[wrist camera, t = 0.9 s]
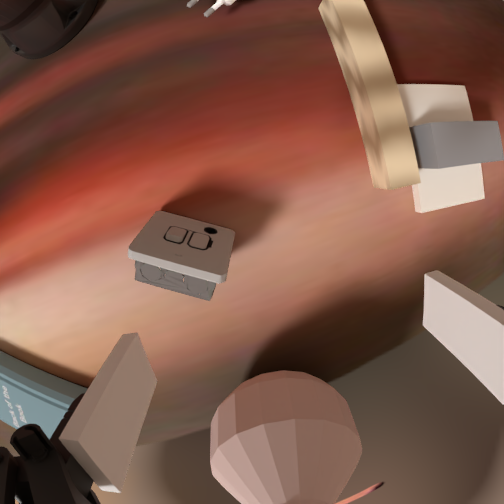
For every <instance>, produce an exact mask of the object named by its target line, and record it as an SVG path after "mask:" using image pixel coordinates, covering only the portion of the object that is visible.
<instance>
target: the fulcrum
mask: <svg viewBox="0 0 504 504" xmlns="http://www.w3.org/2000/svg"><path fill="white" fill-rule="evenodd" d="M397 87H398V90H399V93H400V96H401V100H402V103H403V107H404V110H405V114H406V117H407V121H408V125H409V129H410V133H411V137H412V141H413V146H414V150H415V155H416V160H417V165H418V170H419V175H420V181H421V183H419V184H414V185H412V188H413V196H414V204H415V211H416V212H420V213H424V212H428V211H432V210H437V209H441V208H445V207H450V206H454V205H459V204H463V203H467V202H472V201H476V200H481V199H485V198H484V187H483V177H482V169H481V163H485V162H493V161H501V160H504V155H503V149H502V142H501V136H500V131H499V126H498V121H473V117H472V112H471V108H470V104H469V100H468V96H467V92H466V89H465V86H461V85H440V84H397Z"/></svg>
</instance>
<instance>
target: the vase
mask: <svg viewBox="0 0 504 504" xmlns="http://www.w3.org/2000/svg"><path fill="white" fill-rule="evenodd" d="M361 453H362V446H361V442H360V437H359V434H358V432H357V429H356V426H355V423H354V420H353V418H352V415H351V412H350V409H349V406H348V404H347V401H346V400H345V399H344V398H343V397H342V396H341V395H340V394H339V393H338V392H337V391H336V390H335V389H334V388H333V387H332V386H330V385H329V384H327V383H326V382H324V381H323V380H321V379H319V378H317V377H314V376H312V375H310V374H307V373H305V372H297V371H286V370H282V371H276V372H270V373H264V374H260V375H258V376H256V377H254V378H252V379H249V380H247V381H245V382H243V383H242V384H240V385H239V386H238V387H237V388H236V389H235V390H234V391H233V392H232V393H230V394H229V395H228V397H227V398H226V399H225V400H224V401H223V402H222V403H221V404H220V405H219V406H218V408H217V411H216V413H215V415H214V417H213V420H212V422H211V450H210V463H211V469H212V474H213V476H214V477H215V478H216V479H217V481H219V483H220V484H221V485H222V486H223V487H224V488H225V489H226V490H227V491H228V492H230V493H231V495H233V496H234V497H235V498H236V499H237V500H238V501H239V502H240V503H241V504H334V503H335V501H336V500H337V498H338V496H339V495H340V494H341V492H342V490H343V489H344V487H345V485H346V483H347V482H348V480H349V478H350V476H351V475H352V473H353V471H354V469H355V467H356V466H357V464H358V461H359V459H360V456H361Z"/></svg>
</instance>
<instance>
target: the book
mask: <svg viewBox="0 0 504 504" xmlns="http://www.w3.org/2000/svg"><path fill="white" fill-rule="evenodd" d="M87 390H88V389H87V388H85V387H82V386H79V385H76V384H74V383H71V382H69V381H66V380H63V379H61V378H58V377H56V376H54V375H51V374H49V373H46V372H44V371H42V370H39V369H37V368H35V367H33V366H31V365H28V364H26V363H24V362H22V361H20V360H18V359H16V358H14V357H12V356H10V355H8V354H6V353H4V352H2V351H0V420H2V421H4V422H5V423H7V424H9V425H10V426H12V427H14V428H16V429H18V428H20V427H21V426H23V425H26V424H37V425H39V426H40V427H41V429H42V430H43V432H44V433H45V434H46V436H47V437H48V438H49V440H50V438H51V436H52V434H53V433H54V431H55V429H56V428H57V426H58V424H59V423H60V421H61V419H63V416H64V415H65V413H66V412H68V411H67V410H68V408H69V406H70V405H71V403H72V402H73V401H74V400H75V399H76V398H77V397H78V396H79V395H80V394H82V393H86V391H87Z"/></svg>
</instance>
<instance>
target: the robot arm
mask: <svg viewBox="0 0 504 504" xmlns="http://www.w3.org/2000/svg"><path fill="white" fill-rule="evenodd" d="M97 1H98V0H0V34H1V36H2V37H3V39H4V40H5V41H6V43H7V44H8V46H9V47H10V48H11V50H12V51H13V52H14V53H16V54H18V55H20V56H22V57H24V58H27V59H38V58H42V57H45V56H47V55H49V54H51V53H53V52H55V51H57V50H58V49H60V48H61V47H63V46H64V45H65V44H66V43H68V42H69V41H70V40H71V39H72V38H73V37H74V36H75V35H76V34H77V33H78V32H79V31H80V30H81V29H82V28H83V26H84V25H85V24H86V22H87V21H88V19H89V18H90V16H91V15H92V13H93V11H94V9H95V7H96V4H97ZM423 326H424V327H425V328H426V329H427V330H428V331H429V332H430V333H431V334H433V335H434V336H435V337H436V338H437V339H438V340H439V341H440V342H441V343H442V344H443V345H444V346H445V347H446V348H447V349H448V350H449V351H450V352H452V354H454V355H455V356H456V357H457V358H458V359H459V360H460V361H461V362H462V363H463V364H464V365H465V366H466V367H467V368H468V369H469V370H470V371H471V372H472V373H473V374H474V375H475V376H476V377H477V378H478V379H479V380H480V381H481V382H482V383H483V384H484V385H485V386H486V387H487V388H488V389H489V390H490V391H491V392H492V393H493V395H495V397H497V399H498V400H499V401H500V402H501V403H502V404H504V307H502V306H499V305H495V304H493V303H492V302H490V301H489V300H487V299H485V298H484V297H482V296H481V295H479V294H477V293H476V292H474V291H472V290H471V289H469V288H467V287H466V286H464V285H462V284H461V283H459V282H457V281H455V280H454V279H452V278H450V277H448V276H447V275H445V274H443V273H441V272H440V271H438V270H436V271H432V272H429V273H425V280H424V314H423ZM156 384H157V379H156V377H155V375H154V372H153V370H152V368H151V365H150V363H149V360H148V358H147V356H146V353H145V351H144V348H143V346H142V343H141V340H140V338H139V335H138V333H130V334H123V335H122V336H121V338H120V339H119V341H118V342H117V344H116V345H115V347H114V348H113V350H112V352H111V353H110V355H109V356H108V358H107V359H106V361H105V362H104V364H103V366H102V367H101V369H100V370H99V372H98V373H97V375H96V377H95V378H94V380H93V381H92V383H91V385H90V386H89V388H88V390H87V391H86V393H82V394H80V395H79V396H78V397H77V398H76V399H75V400H74V401H73V402H72V403H71V405H70V406H69V408H68V410H67V411H68V412H66V413H65V415H64V416H63V419H61V421H60V423H59V424H58V426H57V428H56V429H55V431H54V433H53V434H52V436H51V438H50V440H49V438H48V437H47V436H46V434H45V433H44V432H43V430H42V429H41V427H40V426H39V425H37V424H26V425H23V426H21V427H20V428H18V429H17V430H16V431H15V432H14V433H13V435H12V437H11V440H10V443H11V445H12V446H13V447H14V449H15V450H16V451H17V452H18V453H19V455H20V456H17V457H13V455H12V454H11V453H10V452H9V451H8V449H7V448H5V447H0V504H15V499H16V500H17V501H18V502H19V504H100V502H99V500H98V498H97V496H96V494H95V493H94V492H93V490H91V486H92V483H93V481H94V482H95V483H96V484H97V485H98V487H99V488H100V489H101V490H103V491H110V492H118V493H121V491H122V487H123V484H124V480H125V477H126V474H127V471H128V468H129V465H130V461H131V458H132V455H133V452H134V449H135V446H136V443H137V440H138V437H139V434H140V431H141V428H142V425H143V422H144V419H145V416H146V413H147V410H148V407H149V404H150V401H151V398H152V395H153V392H154V390H155V387H156Z"/></svg>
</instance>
